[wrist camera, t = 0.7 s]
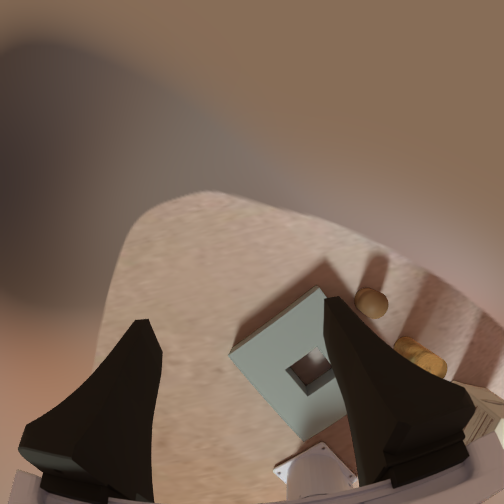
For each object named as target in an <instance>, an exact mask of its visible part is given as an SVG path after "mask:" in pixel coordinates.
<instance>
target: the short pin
mask: <svg viewBox="0 0 504 504" xmlns="http://www.w3.org/2000/svg"><path fill="white" fill-rule="evenodd" d="M354 303H355V306H356V308H357V309H358V310H360V311H361V312H362V313H364V314H365V315H366V316H368V317H369V318H372V319H377V318H380V317H382V316H383V315H384V314H385V313H386V311H387V309H388V300H387V298H386V296H385V295H384V294H383V293H380V292H378V291H376V290H373V289H371V288H363V289H360V290H359V291H358V292H357V293H356V295H355V298H354Z"/></svg>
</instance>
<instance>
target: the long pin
mask: <svg viewBox="0 0 504 504" xmlns="http://www.w3.org/2000/svg"><path fill="white" fill-rule="evenodd" d="M394 350H395V351H396V352H398V353H399V354H401V355H402V356H403V357H405V358H406V359H408V360H409V361H411V362H412V363H414V364H416V365H418V366H419V367H421V368H423V369H424V370H426V371H428V372H430V373H432V374H434V375H436V376H438V377H440V378H442V379H443V378H444V377H445V375H446V372H447V364H446V362H445V361H444V360H443V359H441V358H440V357H438V356H437V355H436V354H434V353H433V352H431V351H430V350H428V349H427V348H425V347H424V346H422V345H421V344H419V343H418V342H416V341H415V340H413V339H412V338H410V337H408V336H404V337H401V338H400V339H398V340H397V341H396V343H395V345H394Z"/></svg>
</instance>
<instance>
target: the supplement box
mask: <svg viewBox="0 0 504 504" xmlns="http://www.w3.org/2000/svg"><path fill="white" fill-rule="evenodd" d="M452 383H455V384H457V385H460V386H462V387H465V389H466V391H467V392H468V394H469V395H470V397H471V399H472V401H473V403H474V405H475V407H476V410H475V413H474V415H473V417H472V418H471V420H470V421H469V422H468V424H467V425H466V426H465V427H464V429H463V431H464V434H465V439H464V440H463V441H464V444H465V446H466V445H468V444H469V443H471V442H472V441H474V440H476V439H478V438H480V437H482V436H484V435H486V434H488V433H490V432H492V431H495V432H496V434H497V436H498V438H499V440H500V443H501V445H502V447H503V449H504V400H503V399H502V398H500V397H499V396H497V395H496V394H494V393H493V392H491V391H490V390H489V389H487V388H483V387H477V386H472V385H468V384H464V383H460V382H457V381H452Z"/></svg>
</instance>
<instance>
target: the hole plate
mask: <svg viewBox="0 0 504 504" xmlns="http://www.w3.org/2000/svg"><path fill="white" fill-rule="evenodd" d="M325 298H327V297H326V296H325V295H324V293H323V292H322V291H321V289H320V288H319V287H318V286H317V285H316V286H314V287H313V288H312V289H310V290H309V291H308V292H307V293H305V294H304V295H303V296H301V297H300V298H299V299H298V300H296V301H295V302H294V303H292V304H291V305H290V306H288V307H287V308H286V309H284V310H283V311H282V312H280V313H279V314H278V315H276V316H275V317H274V318H272V319H271V320H270V321H268V322H267V323H266V324H264V325H263V326H262V327H260V328H259V329H257V330H256V331H255V332H253V333H252V334H251V335H249V336H248V337H246V338H245V339H244V340H242V341H241V342H240V343H238V344H237V345H235V346H234V347H233V348H232V349H231V351H230V353H229V355H228V356H229V358H230V359H231V360H232V361H233V363H234V364H235V365H236V366H237V367H238V369H239V370H240V371H241V372H242V373H243V374H244V376H245V377H246V378H247V379H248V380H249V382H250V383H251V384H252V385H253V386H254V387H255V389H256V390H257V391H258V392H259V393H260V394H261V395H262V397H263V398H264V399H265V400H266V401H267V402H268V403H269V405H270V406H271V407H272V408H273V409H274V410H275V411H276V412H277V413H278V415H279V416H280V417H281V418H282V419H283V420H284V421H285V422H286V423H287V424H288V426H289V427H290V428H291V429H292V430H293V431H294V432H295V433H296V434H297V435H298V436H299V437H300V438H301V439H302V441H303V442H304V441H306V440H308V439H309V438H311V437H313V436H314V435H316V434H318V433H319V432H321V431H322V430H324V429H326V428H327V427H329V426H330V425H332V424H333V423H335V422H336V421H338V420H339V419H341V418H342V417H344V416H345V415H347V411H346V407H345V404H344V400H343V397H342V394H341V391H340V389H339V386H338V383H337V380H336V377H335V375H334V372H333V369H332V368H331V369H330V370H328V371H327V372H326V373H324V374H323V375H321V376H320V377H318V378H317V379H316V380H314V381H313V382H311V383H310V384H308V385H307V386H305V385H304V383H303V382H302V381H301V380H300V379H299V377H298V376H297V375H296V374H295V373H294V371H293V370H292V369H291V368H290V366H291V365H292V364H294V363H295V362H297V361H298V360H300V359H301V358H302V357H304V356H305V355H307V354H308V353H309V352H311V351H312V350H313V349H315V348H316V347H318V349H319V350H320V351H321V353H322V354H323V355H324V356H325V358H326V359H327V360H328V361H329V363H330V360H329V358H328V354H327V350H326V346H325V341H324V337H323V321H324V299H325ZM330 364H331V363H330Z"/></svg>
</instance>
